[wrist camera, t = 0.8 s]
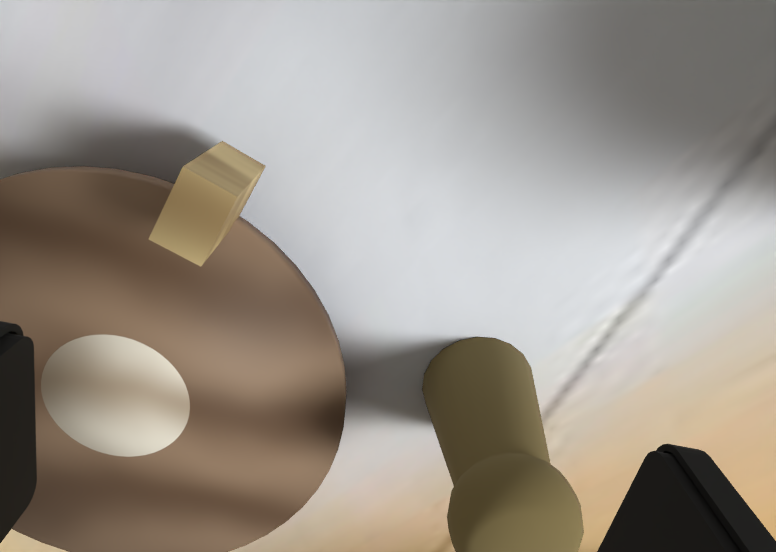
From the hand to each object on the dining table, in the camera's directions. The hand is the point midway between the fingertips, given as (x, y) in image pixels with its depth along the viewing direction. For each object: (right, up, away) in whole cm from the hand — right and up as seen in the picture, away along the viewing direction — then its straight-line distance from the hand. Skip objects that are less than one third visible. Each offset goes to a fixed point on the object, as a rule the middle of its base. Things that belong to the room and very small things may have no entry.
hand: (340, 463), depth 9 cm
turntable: (-12, -2, +19) cm, 23 cm away
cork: (+6, -3, +22) cm, 23 cm away
